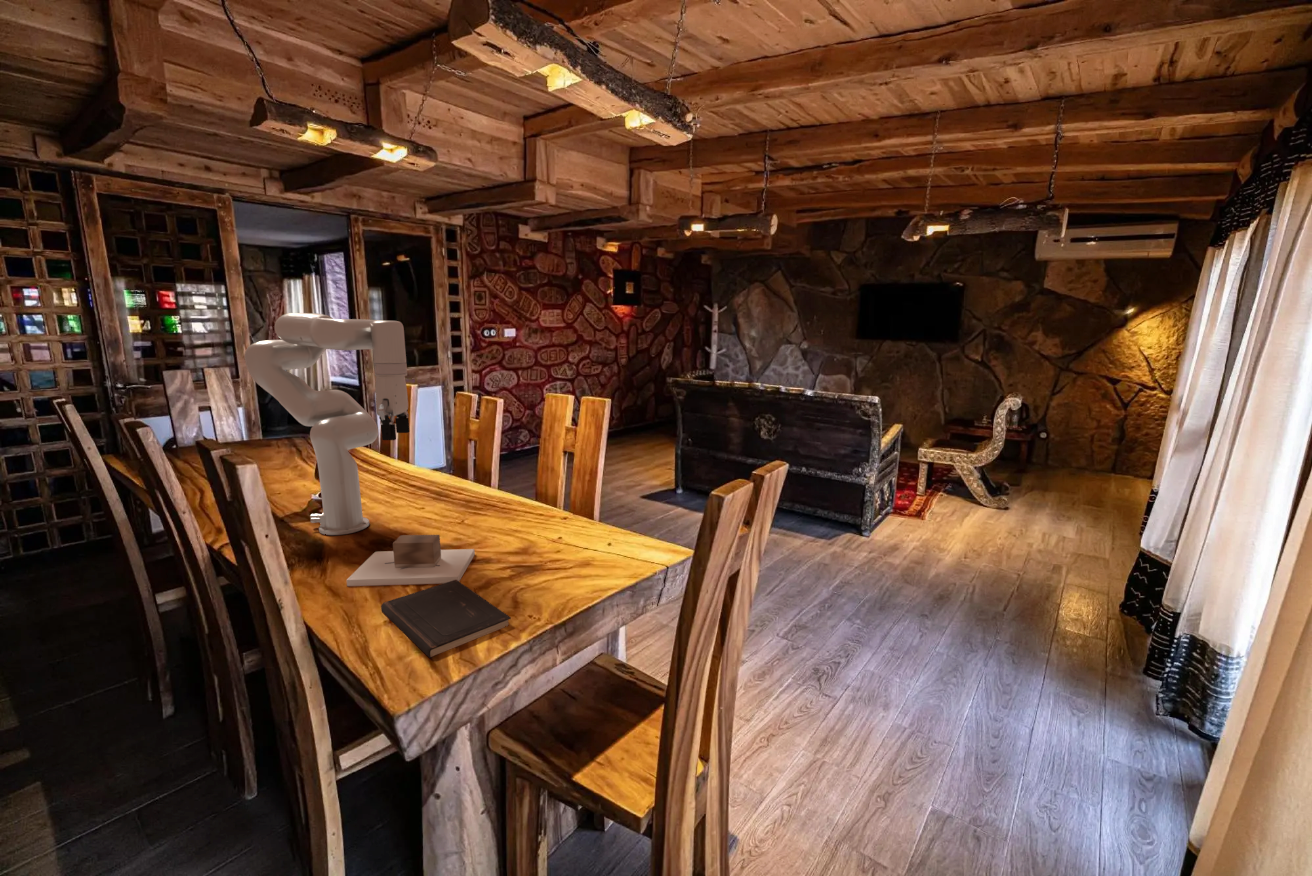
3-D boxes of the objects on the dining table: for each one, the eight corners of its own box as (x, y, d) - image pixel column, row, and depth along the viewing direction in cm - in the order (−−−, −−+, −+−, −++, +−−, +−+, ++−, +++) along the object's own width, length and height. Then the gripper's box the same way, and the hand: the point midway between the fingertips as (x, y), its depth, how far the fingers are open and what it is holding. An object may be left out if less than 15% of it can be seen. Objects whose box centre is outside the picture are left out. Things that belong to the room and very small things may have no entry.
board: (347, 586, 126) (346, 579, 126) (375, 557, 142) (375, 551, 141) (458, 582, 128) (457, 576, 128) (474, 554, 144) (474, 548, 143)
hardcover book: (456, 589, 126) (456, 579, 126) (511, 628, 110) (510, 617, 110) (381, 613, 115) (380, 603, 115) (429, 661, 99) (428, 649, 99)
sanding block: (394, 567, 132) (392, 543, 131) (402, 559, 137) (400, 535, 136) (434, 566, 132) (432, 542, 131) (441, 558, 137) (439, 534, 136)
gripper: (388, 367, 153) (393, 430, 156) (361, 373, 136) (367, 443, 139) (417, 367, 153) (421, 430, 157) (393, 373, 136) (399, 443, 140)
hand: (396, 436), depth 148 cm, fingers open, 9 cm apart
